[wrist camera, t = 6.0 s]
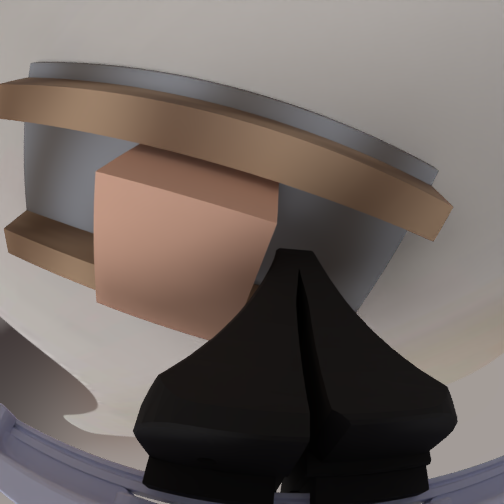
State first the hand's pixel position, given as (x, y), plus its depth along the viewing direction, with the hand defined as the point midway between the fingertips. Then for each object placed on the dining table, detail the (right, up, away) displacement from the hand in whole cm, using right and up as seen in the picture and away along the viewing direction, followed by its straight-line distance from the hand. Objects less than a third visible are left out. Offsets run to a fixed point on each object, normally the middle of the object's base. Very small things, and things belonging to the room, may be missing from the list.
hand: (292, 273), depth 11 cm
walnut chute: (-4, +3, +2) cm, 5 cm away
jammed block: (-3, +3, +2) cm, 5 cm away
